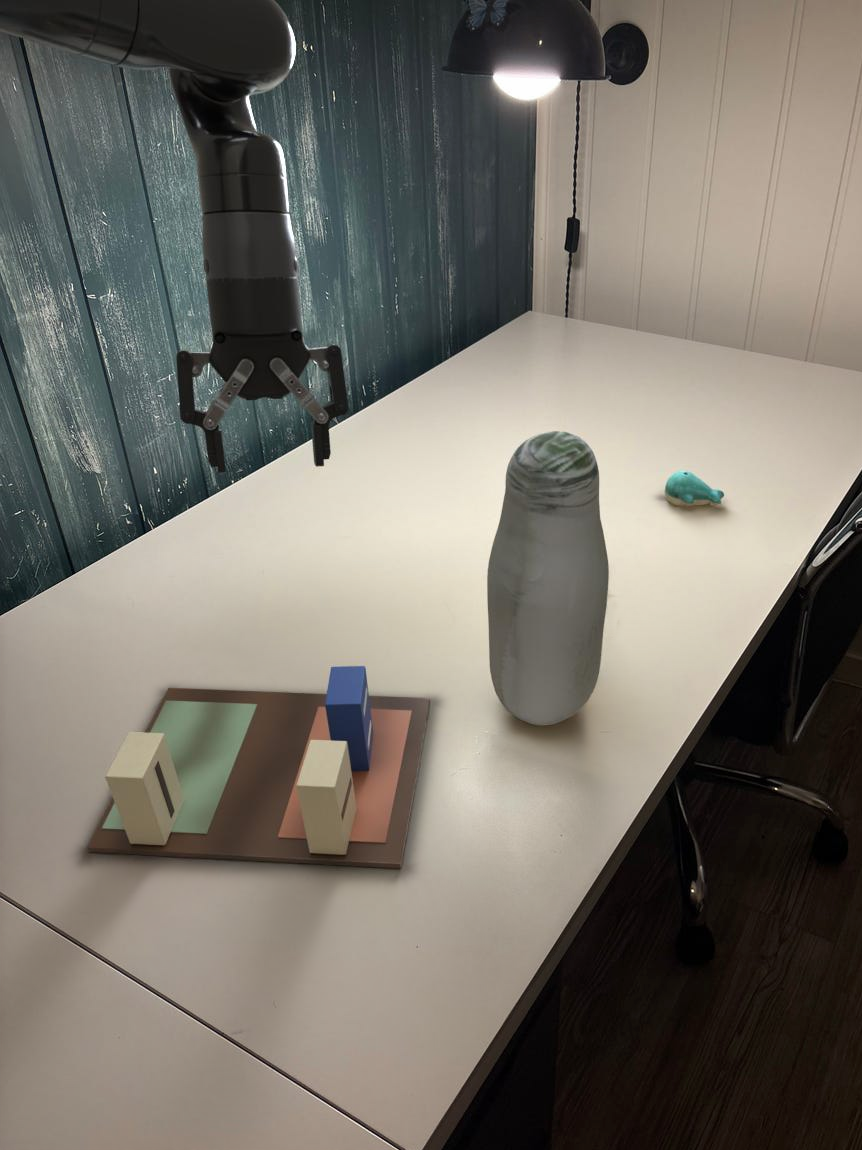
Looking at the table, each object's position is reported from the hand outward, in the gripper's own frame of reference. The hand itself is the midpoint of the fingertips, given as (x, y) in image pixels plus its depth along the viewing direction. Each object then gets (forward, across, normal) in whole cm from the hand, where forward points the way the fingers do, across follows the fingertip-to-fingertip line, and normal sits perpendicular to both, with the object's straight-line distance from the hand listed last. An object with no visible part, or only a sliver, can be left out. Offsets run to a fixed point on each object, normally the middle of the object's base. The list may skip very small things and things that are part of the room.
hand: (270, 468), depth 85 cm
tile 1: (+27, +13, +12) cm, 32 cm away
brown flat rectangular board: (+26, +3, +9) cm, 27 cm away
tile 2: (+27, -2, +17) cm, 32 cm away
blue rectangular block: (+24, -5, +9) cm, 26 cm away
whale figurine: (+12, -53, -22) cm, 59 cm away
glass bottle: (+23, -23, +8) cm, 34 cm away
